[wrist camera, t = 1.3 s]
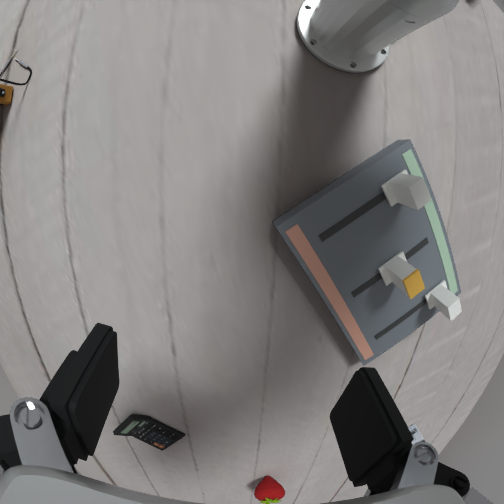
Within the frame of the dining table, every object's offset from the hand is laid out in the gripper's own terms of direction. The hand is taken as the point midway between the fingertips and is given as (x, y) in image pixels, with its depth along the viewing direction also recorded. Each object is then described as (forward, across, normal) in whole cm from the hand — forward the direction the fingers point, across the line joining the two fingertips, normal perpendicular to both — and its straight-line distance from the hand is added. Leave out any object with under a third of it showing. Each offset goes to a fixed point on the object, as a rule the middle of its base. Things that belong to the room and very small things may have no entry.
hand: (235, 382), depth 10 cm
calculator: (+26, +8, +44) cm, 52 cm away
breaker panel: (+26, -21, 0) cm, 33 cm away
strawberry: (+25, -21, +60) cm, 68 cm away
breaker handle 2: (+22, -31, +3) cm, 38 cm away
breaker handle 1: (+22, -17, -9) cm, 30 cm away
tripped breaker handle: (+22, -21, 0) cm, 30 cm away
